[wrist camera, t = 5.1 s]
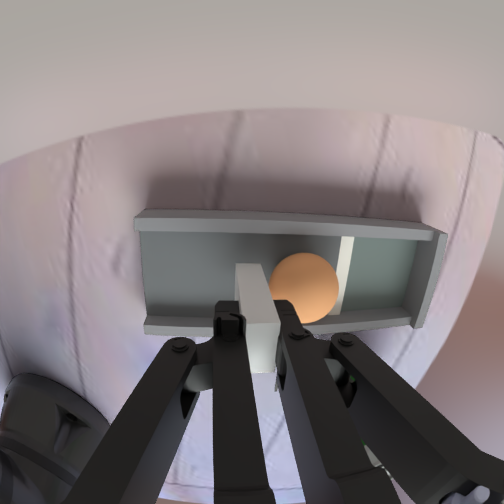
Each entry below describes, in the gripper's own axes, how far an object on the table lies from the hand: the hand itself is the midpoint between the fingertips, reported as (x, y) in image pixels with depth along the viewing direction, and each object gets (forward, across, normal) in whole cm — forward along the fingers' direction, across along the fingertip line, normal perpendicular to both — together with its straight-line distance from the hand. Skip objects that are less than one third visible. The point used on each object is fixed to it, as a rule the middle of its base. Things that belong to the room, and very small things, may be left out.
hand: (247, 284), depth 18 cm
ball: (0, +4, 0) cm, 4 cm away
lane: (+3, +4, 0) cm, 5 cm away
